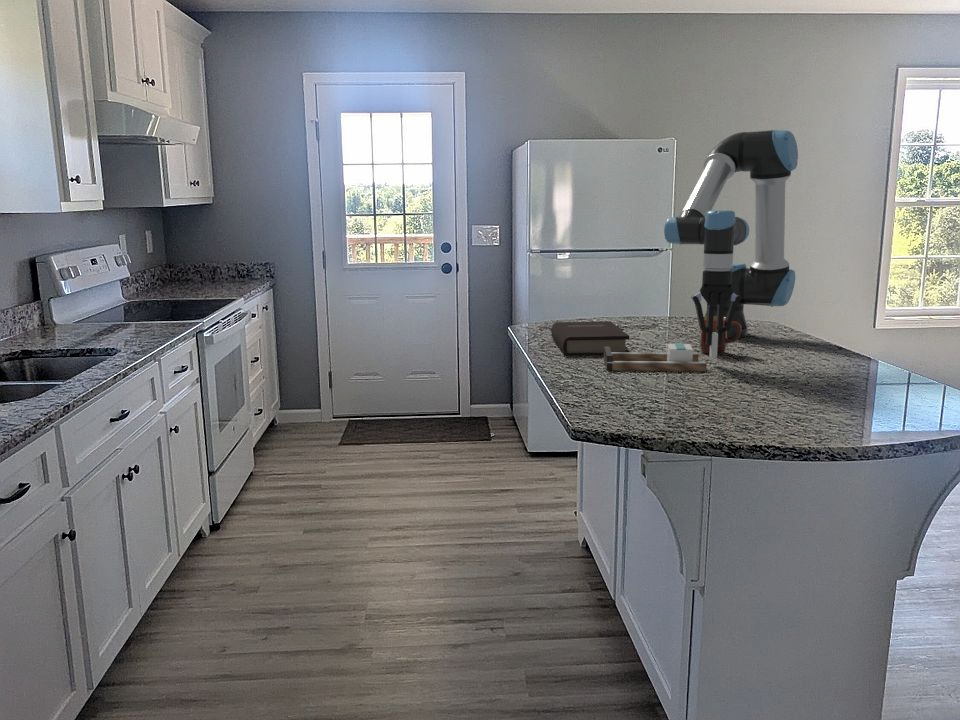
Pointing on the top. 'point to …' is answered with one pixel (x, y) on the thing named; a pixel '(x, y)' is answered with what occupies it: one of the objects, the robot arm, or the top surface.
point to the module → (679, 352)
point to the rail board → (648, 362)
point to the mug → (725, 340)
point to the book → (588, 337)
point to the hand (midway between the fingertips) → (713, 356)
